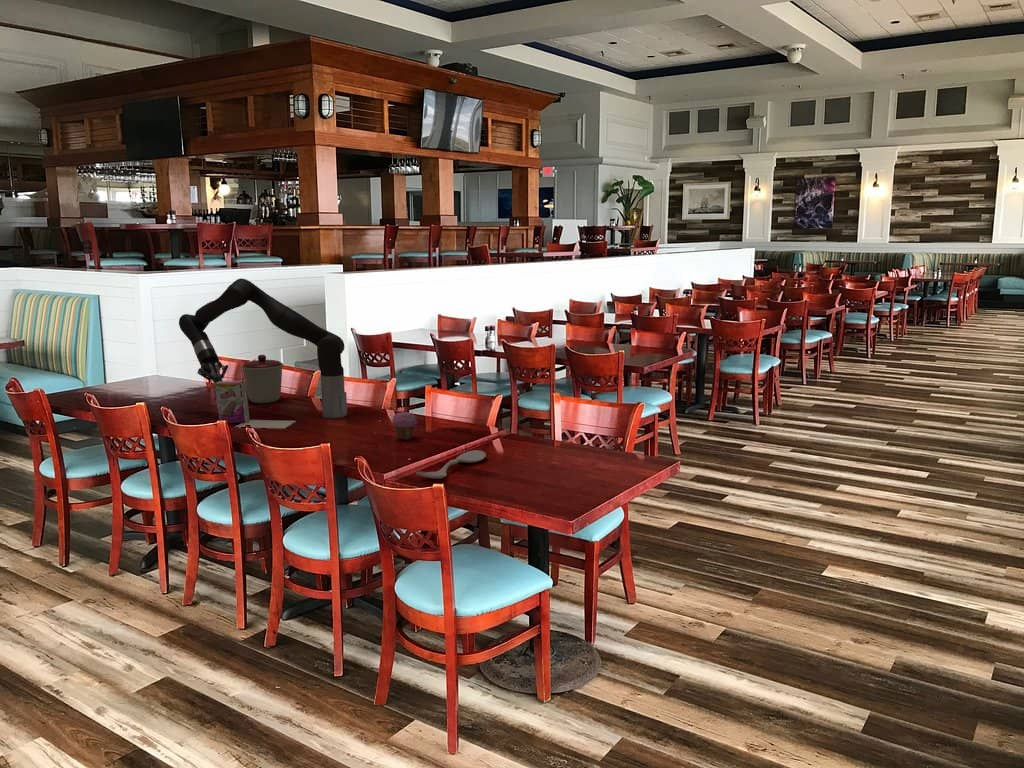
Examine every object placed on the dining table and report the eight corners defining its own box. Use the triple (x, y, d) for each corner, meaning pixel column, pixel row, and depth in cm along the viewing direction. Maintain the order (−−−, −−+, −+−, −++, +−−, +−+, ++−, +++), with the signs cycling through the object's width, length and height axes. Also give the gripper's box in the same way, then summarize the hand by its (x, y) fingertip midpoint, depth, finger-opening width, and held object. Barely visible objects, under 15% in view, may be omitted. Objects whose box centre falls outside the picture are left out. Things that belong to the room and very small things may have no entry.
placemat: (296, 421, 328) (296, 420, 328) (284, 429, 316) (284, 428, 316) (248, 420, 330) (248, 419, 330) (234, 427, 318) (234, 426, 318)
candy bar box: (218, 424, 325) (213, 383, 322) (223, 421, 330) (218, 381, 327) (245, 423, 323) (240, 382, 320) (250, 420, 328) (245, 380, 325)
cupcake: (410, 442, 295) (409, 415, 293) (388, 440, 298) (387, 413, 296) (421, 436, 303) (420, 410, 301) (400, 434, 306) (399, 408, 304)
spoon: (415, 482, 250) (414, 471, 249) (467, 456, 278) (467, 446, 277) (440, 486, 246) (440, 474, 245) (491, 459, 274) (491, 449, 273)
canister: (242, 406, 356) (238, 358, 352) (245, 398, 374) (241, 352, 370) (285, 404, 361) (282, 356, 357) (286, 396, 378) (283, 351, 374)
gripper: (219, 357, 345) (234, 389, 338) (187, 361, 336) (202, 394, 330) (223, 346, 340) (238, 378, 334) (191, 349, 332) (206, 382, 325)
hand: (220, 386), depth 332 cm, fingers closed
